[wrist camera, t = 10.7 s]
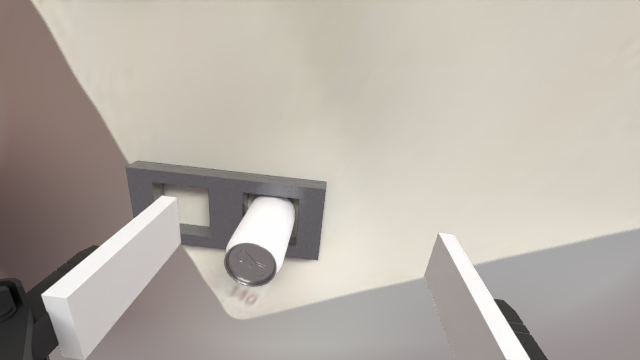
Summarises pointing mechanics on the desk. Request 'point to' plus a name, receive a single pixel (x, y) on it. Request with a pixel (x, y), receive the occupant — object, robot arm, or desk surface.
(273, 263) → the can
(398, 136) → the desk surface
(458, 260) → the robot arm
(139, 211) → the holder
